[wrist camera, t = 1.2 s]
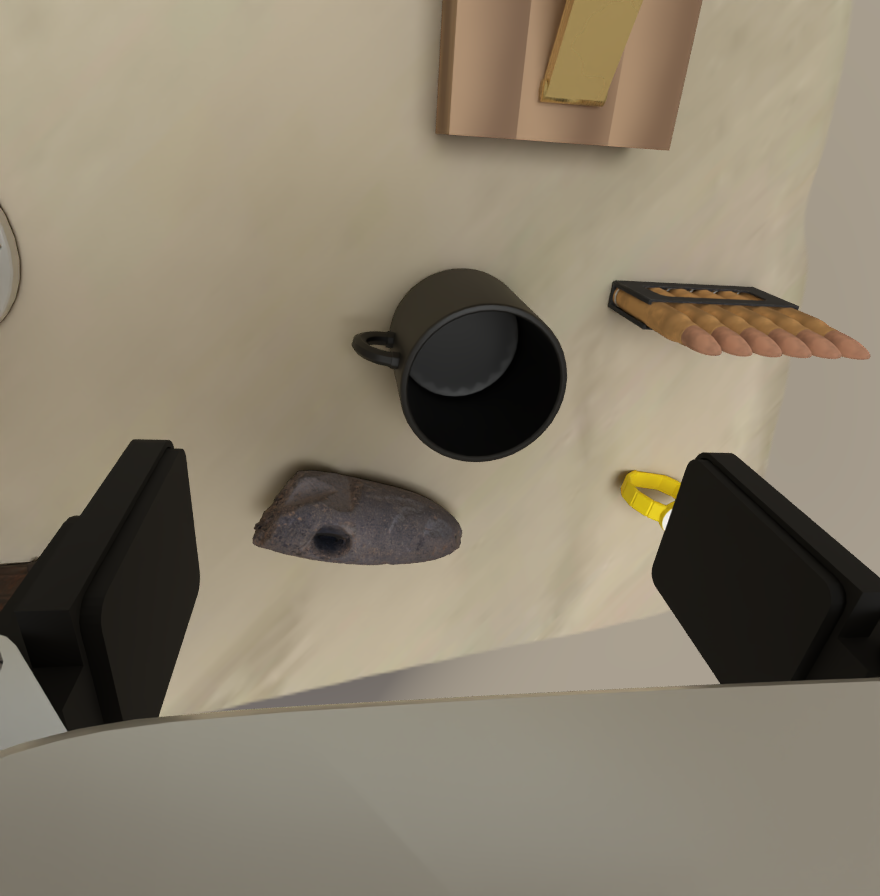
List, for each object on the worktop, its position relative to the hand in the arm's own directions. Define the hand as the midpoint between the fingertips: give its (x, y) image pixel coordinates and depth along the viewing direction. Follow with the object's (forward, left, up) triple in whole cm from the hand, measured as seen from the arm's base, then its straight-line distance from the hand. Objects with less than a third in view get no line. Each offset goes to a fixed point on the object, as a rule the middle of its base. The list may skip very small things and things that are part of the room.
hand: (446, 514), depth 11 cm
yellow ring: (+22, -18, -30) cm, 41 cm away
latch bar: (+9, +12, -22) cm, 27 cm away
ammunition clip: (+21, -3, -30) cm, 37 cm away
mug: (+4, -6, -30) cm, 30 cm away
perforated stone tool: (-1, -19, -30) cm, 35 cm away
